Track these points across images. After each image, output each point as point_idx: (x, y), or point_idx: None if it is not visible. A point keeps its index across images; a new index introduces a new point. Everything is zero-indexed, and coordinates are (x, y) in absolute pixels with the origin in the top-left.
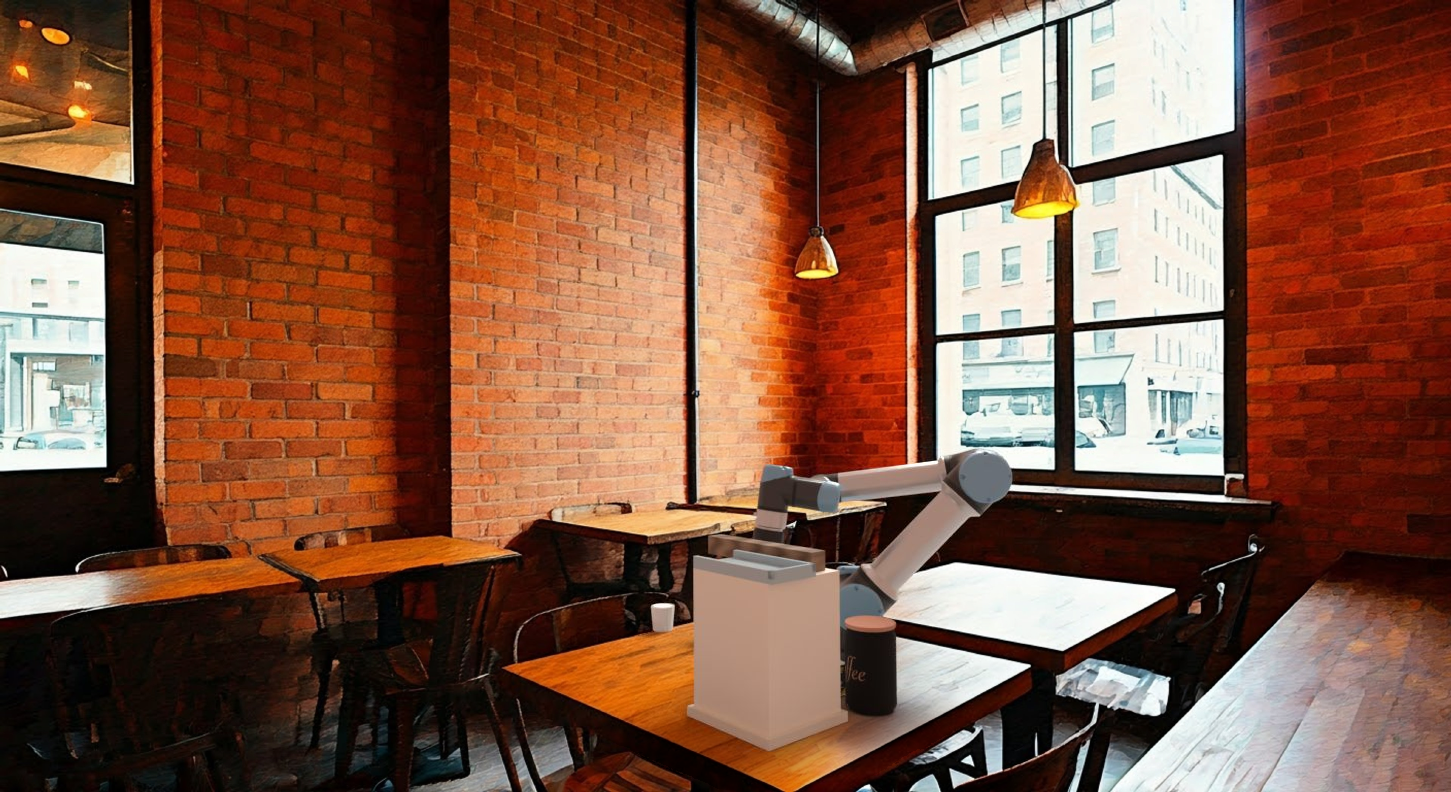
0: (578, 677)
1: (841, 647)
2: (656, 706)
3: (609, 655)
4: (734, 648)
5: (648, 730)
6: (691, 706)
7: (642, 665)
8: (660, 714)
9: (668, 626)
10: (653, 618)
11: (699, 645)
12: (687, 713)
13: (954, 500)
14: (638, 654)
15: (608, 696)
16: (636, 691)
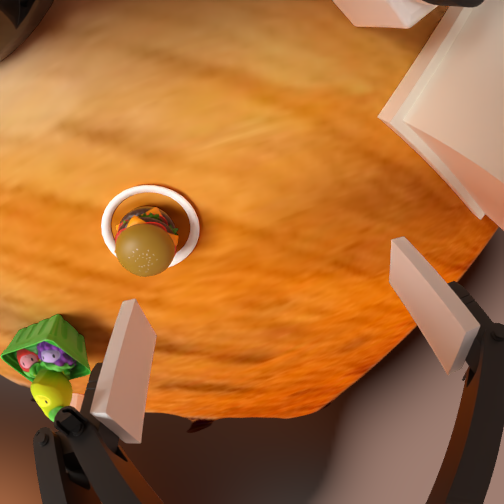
0: (331, 375)
1: (14, 1)
2: (438, 261)
3: (232, 397)
4: None
5: (494, 232)
6: (483, 213)
7: (263, 360)
8: (462, 243)
9: (81, 401)
10: None
11: None
12: (473, 213)
13: None
14: (211, 383)
15: (399, 322)
16: (383, 309)
